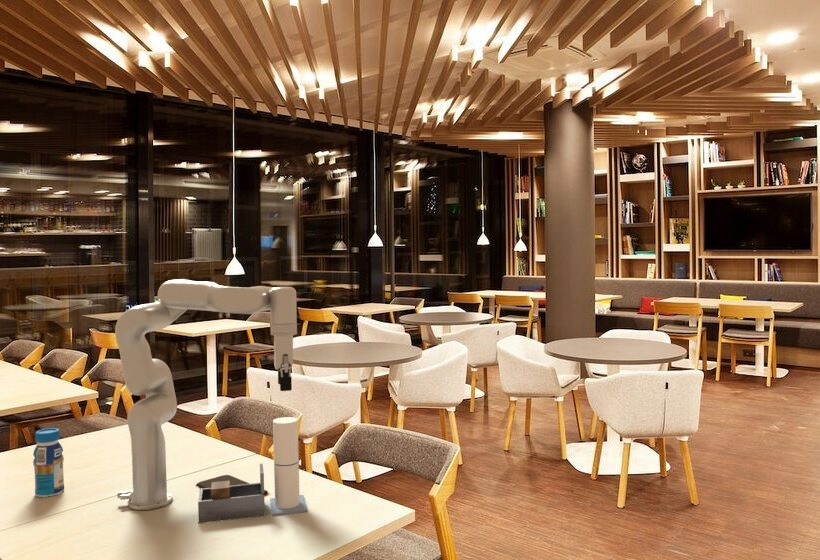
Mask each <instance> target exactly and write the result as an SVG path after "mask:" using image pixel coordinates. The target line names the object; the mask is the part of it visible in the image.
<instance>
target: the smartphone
mask: <svg viewBox="0 0 820 560" xmlns="http://www.w3.org/2000/svg"><path fill="white" fill-rule="evenodd" d="M220 481H230V486H233V485H242V484H251V483H249V482H247V481H245V480H242V479H240V478H237V477H235V476H232V475H230V474H223V475H219V476H216V477H212V478H208V479H204V480H202V481H199V482H197V483H196V484H195V487H197V486H198V487H197V488H199V489H201V488H202V489H203V488H211V485H212V482H220ZM268 494H269V491H267V489H264V497H265V496H267V495H268Z"/></svg>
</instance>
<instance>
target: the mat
mask: <svg viewBox="0 0 820 560" xmlns="http://www.w3.org/2000/svg"><path fill="white" fill-rule="evenodd" d="M269 502H270V510H271V516H273V515H275V516H281V515H282V514H283V515H289V514H290V513H292V514H298V513H299V512H301V513H307V512H308V507H307V503H306V500H305V495H304V494H300V504H299V505H298V506H296V507H293V508H287V509H283V508H278V507H276V506H275V497H272V498H269ZM299 514H300V513H299ZM283 515H282V516H283Z"/></svg>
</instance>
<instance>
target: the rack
mask: <svg viewBox="0 0 820 560" xmlns="http://www.w3.org/2000/svg"><path fill="white" fill-rule="evenodd" d="M264 473H265V472H264V464H263V463H259V482H255V483H254V482H253V483H250V484H242V485H233V486H230V498H221V499H212V500H211V488H203V489H201V488H199V494H198V500H197V509H198V510H197V511H198V512H197V513H198V517H197V518H198V524H203V523H213V522H221V520H223V521H230V520H229V519H231V520H239V518H240V519H247V518H248V517H249V518H255V517H256V516H257V517H265V516H266V513H265V512H266V508H265V507H266V506H265V505H266V504H265V501H266V500H265V496H264V490H265V476H264V475H265V474H264ZM264 515H265V516H264ZM257 517H256V518H257Z"/></svg>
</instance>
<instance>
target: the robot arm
mask: <svg viewBox="0 0 820 560" xmlns="http://www.w3.org/2000/svg"><path fill="white" fill-rule="evenodd" d="M187 310H192V311H193V310H194V311H207V312H213V313H215V312H216V313H217V312H218V313H225V314H240V315H241V314H242V315H253V314H257V313H261V312H266V311H270V312H269V313H270V336H274V337H273V365H274V369H275V370H277V383H278V385H279V390H280V391H281V392H291V391H292V389H293V388H292V381H293V380H292V371H291V370H292V369H293V365H294V363H293V362H294V336H295V335H297V334H298V327H297V326H298V325H297V324H298V323H297V318H298V317H297V291H296V289H295V288H294V287H292V286H276V287H272V286H265V285H257V286H250V287H242V286H241V287H239V286H226V285H225V286H224V285H219V284H217V282H214V281H196V280H191V279H189V278H180V279H178V278H177V279H170V280H167V281H165V282H163V283H162V284H161V285H160V287H159V288H158V291H157V300H156V301H154V302H151V303H144V304H139V305H134V306H133V307H130V308H128V309H127V310H125V311H124V312H123V313H122V314H121V315H120V316H119V317H118V319H117V321H116V324H115V328H114V330H115V331H114V334H115V339H116V344H117V347H118V352H119V355H120V362H121V363H120V364H121V367H122V373H123V378H124V383H125V387H126V388H127V390H128V392H129V393H130V394H132V395H133V396H142V395H145V398H142V399H140V400H138V401H137V402H135V403H134V404H133V405H132V406H131V407H130V408H129V410H128V412H127V420H126V422H127V427H128V431H129V437H130V445H131V446H130V449H131V470H132V471H131V472H132V489H130V488H129V489H128V490H126V491H125V490H121V491H120V490H119V491H117V494H116V495H117V499H120V500H121V501H122V500H127V507H128V508H129V509H130V510H131V509H132V510H137V511H147V510H155V509H158V508H162V507H165V506H167V505H169V504H170V503H171V502H172V501H173V499H174V498H173V494H172V493H171V492H168V489H167V487H168V483H167V455H166V454H167V453H166V451H167V450H166V439H165V435H164V432H163V428H162V425H164V424H166V423H167V422H170V420H172V419H173V418H174V417H175V415H176V413H177V409H178V402H177V401H178V400H177V397H176V392H175V386H174V380H173V375H172V372H171V369H170V367H169V366H168V365H167V364H166V362H164V361H163V360H161V359H158V358H153V356H152V352H151V347H150V343H149V342H148V340H147V339H146V336H145V335H146V334H147V333H151V332H155V331H160V330H162V329H165V328H167V327H169V326H170V325H172V324H173V322H175V321H176V320H177V319H178V318H179V317H180V316H182V315H183V314H184V313H186V311H187Z"/></svg>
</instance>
